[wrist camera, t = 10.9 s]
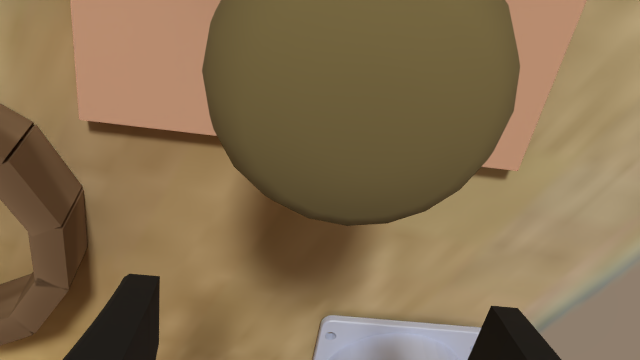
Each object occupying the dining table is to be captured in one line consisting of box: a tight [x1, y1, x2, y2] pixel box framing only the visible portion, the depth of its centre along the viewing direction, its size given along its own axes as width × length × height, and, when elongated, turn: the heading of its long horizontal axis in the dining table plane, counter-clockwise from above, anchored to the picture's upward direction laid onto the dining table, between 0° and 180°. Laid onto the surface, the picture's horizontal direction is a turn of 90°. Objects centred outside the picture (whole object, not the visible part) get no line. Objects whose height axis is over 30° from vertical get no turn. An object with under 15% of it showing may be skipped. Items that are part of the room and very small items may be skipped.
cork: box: [202, 0, 520, 226], centre depth 13 cm, size 6×6×11 cm
